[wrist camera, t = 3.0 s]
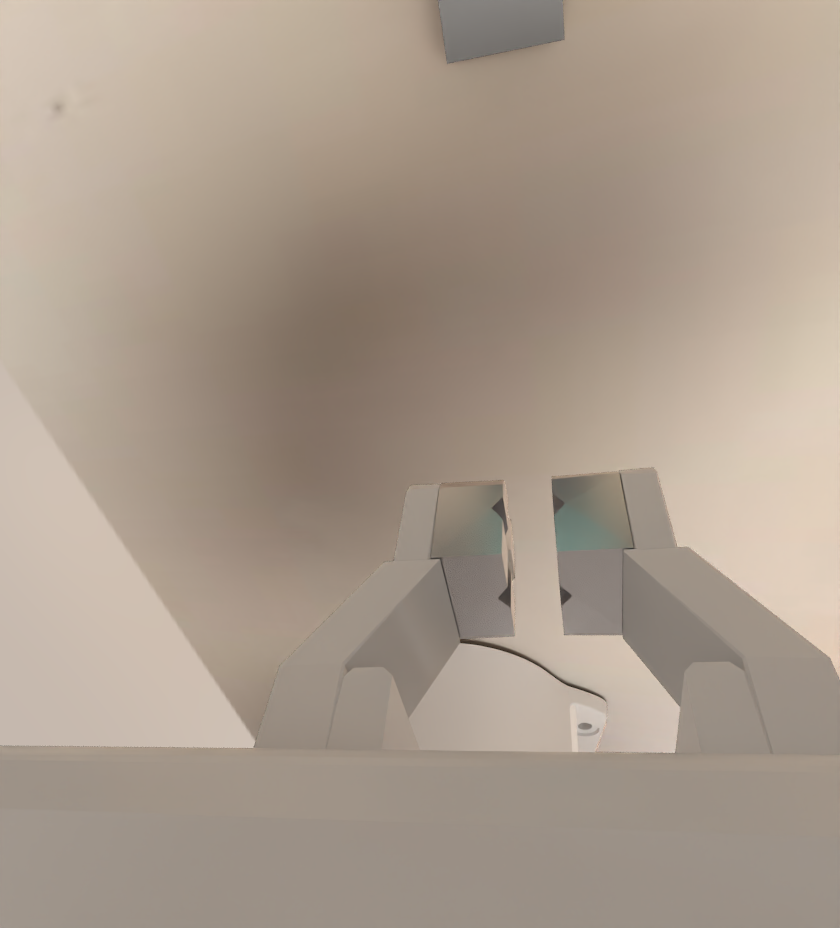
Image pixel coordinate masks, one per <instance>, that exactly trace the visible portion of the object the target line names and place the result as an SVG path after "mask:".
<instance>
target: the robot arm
mask: <svg viewBox="0 0 840 928" xmlns="http://www.w3.org/2000/svg"><path fill="white" fill-rule="evenodd" d="M551 477H552V493H553V507H554V521H555V534H556V548H557V560H558V572H559V584H560V596H561V608H562V618H563V627H564V635H623V639H624V640H625V641H626V642H627V643H628V645H629V646H630V647H631V648H632V649H633V651H634V652H635V653H636V654H637V655H638V657H639V658H640V659H641V660H642V662H643V663H644V664H645V665H646V666H647V668H648V669H649V670H650V671H651V672H652V674H653V675H654V676H655V677H656V678H657V680H658V681H659V682H660V683H661V684H662V686H663V687H664V688H665V689H666V691H667V692H668V693H669V694H670V695H671V697H672V698H673V699H674V700H675V701H676V703H677V704H678V705H679V706H680V716H679V725H678V733H677V742H676V751H675V753H621V752H596V749H597V747H598V744H599V741H600V739H601V736H602V733H603V731H604V728H605V725H606V723H607V703H606V702H605V700H603V699H602V698H600V697H598V696H596V695H593V694H591V693H588V692H585V691H582V690H579V689H576V688H573V687H569V686H567V685H565V684H563V683H562V682H560V681H559V680H557V679H556V678H554V677H553V676H552V675H550V674H549V673H548V672H546V671H545V670H544V669H542V668H540V667H539V666H537V665H535V664H534V663H532V662H530V661H528V660H526V659H523V658H521V657H519V656H516V655H513V654H510V653H507V652H504V651H501V650H497V649H493V648H489V647H484V646H479V645H472V644H464V643H460V639H470V638H489V637H509V636H515V596H514V589H513V582H512V581H513V579H514V578H515V559H514V543H513V533H512V525H511V519H509V518H508V497H507V491H506V485H505V481H504V480H492V481H472V482H452V483H441V484H423V485H410V487H409V488H408V490H407V491H406V496H405V501H404V506H403V512H402V517H401V523H400V528H399V533H398V539H397V544H396V549H395V555H394V560H393V561H387V562H383V563H382V564H381V565H380V566H379V567H378V568H377V569H376V570H375V571H374V572H373V573H372V574H371V575H370V576H369V577H368V578H367V579H366V580H365V581H364V582H363V583H362V584H361V585H360V586H359V587H358V588H357V589H356V590H355V591H354V592H353V593H352V594H351V595H350V596H349V597H348V598H347V599H346V600H345V601H344V602H343V603H342V604H341V605H340V606H339V607H338V608H337V609H336V610H335V611H334V612H333V613H332V614H331V615H330V616H329V617H328V618H327V619H326V620H325V621H324V622H323V623H322V624H321V625H320V626H319V627H318V628H317V629H316V630H315V631H314V632H313V633H312V634H311V635H310V636H309V637H308V638H307V639H306V640H305V641H304V642H303V643H302V644H301V645H300V646H299V647H298V648H297V649H296V650H295V651H294V652H293V653H292V654H291V655H290V656H289V657H288V658H287V659H286V660H285V661H284V662H283V663H282V664H281V665H280V666H279V669H278V672H277V675H276V678H275V681H274V685H273V688H272V691H271V694H270V697H269V700H268V704H267V707H266V710H265V713H264V716H263V719H262V723H261V726H260V729H259V732H258V735H257V738H256V742H255V745H254V748H178V747H177V748H175V747H89V746H88V747H87V746H85V747H84V746H83V747H82V746H81V747H80V746H0V928H840V680H839V677H838V675H837V673H836V670H835V668H834V666H833V664H832V661H831V659H830V658H829V657H828V656H827V655H826V654H824V653H823V652H822V651H820V650H819V649H818V648H817V647H815V646H814V645H813V644H812V643H810V642H809V641H808V640H806V639H805V638H804V637H803V636H801V635H800V634H799V633H798V632H796V631H795V630H794V629H792V628H791V627H790V626H789V625H787V624H786V623H785V622H784V621H782V620H781V619H780V618H778V617H777V616H776V615H775V614H773V613H772V612H771V611H770V610H768V609H767V608H766V607H764V606H763V605H762V604H761V603H759V602H758V601H757V600H756V599H754V598H753V597H752V596H750V595H749V594H748V593H747V592H745V591H744V590H743V589H742V588H740V587H739V586H738V585H736V584H735V583H734V582H733V581H731V580H730V579H729V578H728V577H726V576H725V575H724V574H722V573H721V572H720V571H719V570H717V569H716V568H715V567H714V566H712V565H711V564H710V563H708V562H707V561H706V560H705V559H703V558H702V557H701V556H699V555H698V554H697V553H696V552H694V551H693V550H692V549H691V548H689V547H677V544H676V540H675V536H674V533H673V529H672V525H671V521H670V518H669V514H668V510H667V507H666V503H665V499H664V495H663V492H662V488H661V484H660V481H659V477H658V473H657V471H656V470H655V469H654V468H653V467H651V468H640V469H629V470H619V472H617V471H614V472H602V473H589V474H576V475H564V476H551Z"/></svg>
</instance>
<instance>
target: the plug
mask: <svg viewBox="0 0 840 928" xmlns="http://www.w3.org/2000/svg"><path fill="white" fill-rule="evenodd" d="M438 3H439V10H440V17H441V24H442V31H443V38H444V45H445V52H446V59H447V64H448V63H453V62H458V61H463V60H468V59H473V58H478V57H482V56H487V55H492V54H497V53H502V52H507V51H512V50H517V49H522V48H526V47H531V46H536V45H541V44H546V43H551V42H556V41H561V40H564V18H563V0H438Z"/></svg>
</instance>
